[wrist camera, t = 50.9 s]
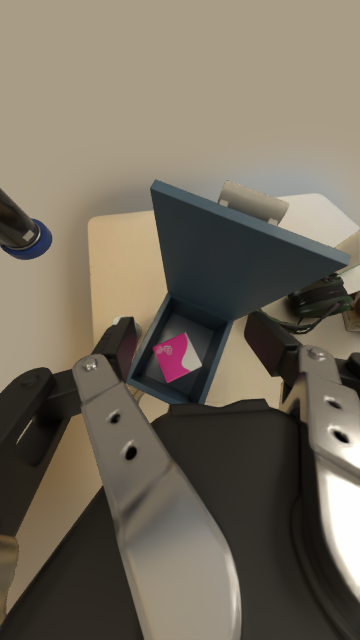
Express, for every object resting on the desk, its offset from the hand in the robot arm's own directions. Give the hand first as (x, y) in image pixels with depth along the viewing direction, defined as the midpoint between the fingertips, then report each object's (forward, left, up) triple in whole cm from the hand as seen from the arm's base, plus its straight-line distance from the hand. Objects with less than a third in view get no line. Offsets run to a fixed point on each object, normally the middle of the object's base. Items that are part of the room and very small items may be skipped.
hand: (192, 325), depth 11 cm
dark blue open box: (0, -1, -25) cm, 25 cm away
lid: (+4, +6, -6) cm, 9 cm away
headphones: (+28, +8, -25) cm, 38 cm away
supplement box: (-1, -2, -24) cm, 24 cm away
